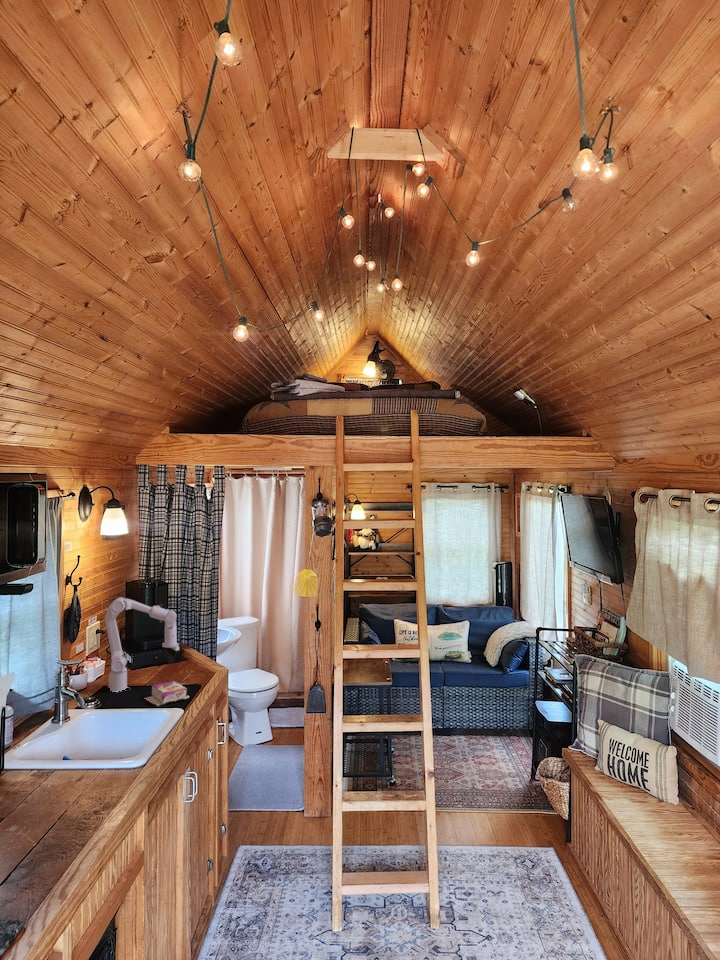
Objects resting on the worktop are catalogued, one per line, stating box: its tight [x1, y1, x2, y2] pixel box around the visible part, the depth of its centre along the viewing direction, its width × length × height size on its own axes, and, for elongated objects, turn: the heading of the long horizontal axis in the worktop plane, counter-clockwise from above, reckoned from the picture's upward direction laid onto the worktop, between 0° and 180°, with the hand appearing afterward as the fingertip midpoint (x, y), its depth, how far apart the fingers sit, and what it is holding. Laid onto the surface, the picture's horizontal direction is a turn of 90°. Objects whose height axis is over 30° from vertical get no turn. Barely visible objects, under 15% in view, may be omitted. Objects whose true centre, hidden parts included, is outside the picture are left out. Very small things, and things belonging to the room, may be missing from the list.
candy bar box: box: [151, 680, 188, 704], centre depth 262 cm, size 11×5×16 cm
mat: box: [143, 695, 190, 707], centre depth 262 cm, size 14×15×1 cm
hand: (171, 663), depth 285 cm, fingers closed
